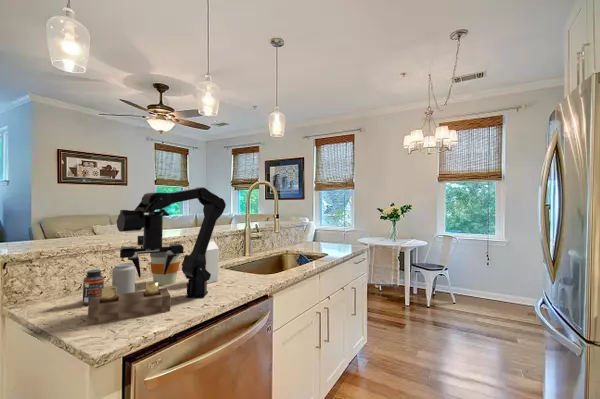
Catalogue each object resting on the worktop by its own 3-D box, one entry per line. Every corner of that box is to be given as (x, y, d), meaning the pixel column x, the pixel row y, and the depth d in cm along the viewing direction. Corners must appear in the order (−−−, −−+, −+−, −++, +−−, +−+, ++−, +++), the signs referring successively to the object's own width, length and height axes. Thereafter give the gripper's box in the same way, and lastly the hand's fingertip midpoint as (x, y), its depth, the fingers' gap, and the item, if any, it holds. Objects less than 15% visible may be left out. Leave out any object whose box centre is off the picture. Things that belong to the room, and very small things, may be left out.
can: (123, 299, 105) (124, 266, 105) (106, 297, 106) (107, 265, 106) (139, 293, 112) (139, 262, 112) (123, 291, 114) (123, 261, 114)
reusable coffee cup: (165, 277, 136) (166, 246, 136) (186, 280, 131) (186, 247, 131) (142, 284, 124) (143, 249, 124) (164, 287, 119) (165, 252, 120)
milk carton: (218, 280, 131) (219, 239, 132) (205, 284, 125) (206, 241, 126) (208, 278, 135) (208, 238, 135) (195, 281, 129) (196, 239, 129)
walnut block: (166, 301, 103) (166, 287, 103) (170, 310, 94) (170, 295, 94) (90, 313, 91) (90, 297, 91) (87, 325, 83) (88, 307, 83)
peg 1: (116, 300, 92) (117, 285, 92) (116, 304, 89) (117, 288, 89) (101, 302, 90) (102, 287, 90) (101, 306, 87) (101, 290, 87)
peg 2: (157, 294, 99) (158, 280, 99) (159, 298, 95) (159, 283, 95) (144, 296, 97) (145, 281, 97) (145, 300, 93) (146, 284, 93)
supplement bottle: (87, 306, 97) (87, 273, 97) (79, 303, 100) (80, 271, 100) (106, 301, 102) (107, 270, 102) (98, 298, 105) (99, 268, 105)
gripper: (178, 226, 108) (178, 268, 108) (120, 228, 98) (119, 274, 98) (184, 229, 99) (183, 274, 99) (120, 231, 89) (119, 281, 89)
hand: (152, 275), depth 96 cm, fingers open, 7 cm apart
